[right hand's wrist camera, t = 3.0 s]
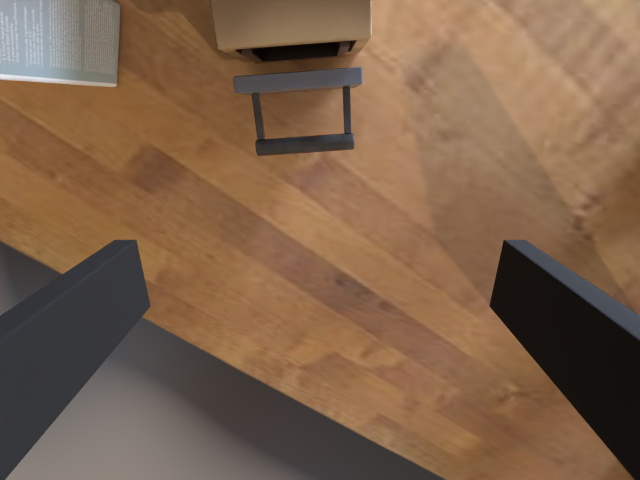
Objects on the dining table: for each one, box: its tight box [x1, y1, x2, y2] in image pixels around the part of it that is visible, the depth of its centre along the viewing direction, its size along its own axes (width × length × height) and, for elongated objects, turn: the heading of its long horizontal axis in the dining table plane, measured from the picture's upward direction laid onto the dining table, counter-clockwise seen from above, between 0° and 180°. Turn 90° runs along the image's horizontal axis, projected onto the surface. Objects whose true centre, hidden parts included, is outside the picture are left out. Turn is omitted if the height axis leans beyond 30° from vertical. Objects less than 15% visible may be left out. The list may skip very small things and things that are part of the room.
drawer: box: [233, 41, 362, 156], centre depth 28 cm, size 22×10×7 cm, turn 4°
